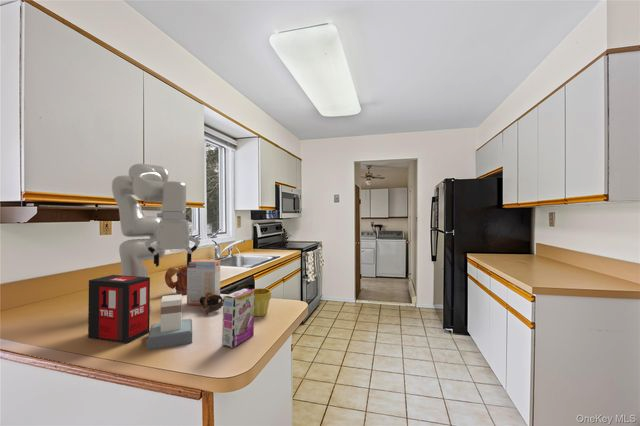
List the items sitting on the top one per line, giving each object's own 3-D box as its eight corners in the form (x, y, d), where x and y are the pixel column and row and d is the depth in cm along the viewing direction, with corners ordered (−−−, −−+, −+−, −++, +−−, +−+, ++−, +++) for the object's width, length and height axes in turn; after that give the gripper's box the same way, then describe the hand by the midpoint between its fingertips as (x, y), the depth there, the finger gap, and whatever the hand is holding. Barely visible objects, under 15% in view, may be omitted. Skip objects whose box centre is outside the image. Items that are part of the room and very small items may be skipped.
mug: (188, 290, 159) (188, 263, 159) (196, 292, 154) (196, 265, 154) (161, 296, 147) (161, 267, 147) (169, 299, 142) (169, 269, 142)
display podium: (146, 350, 89) (147, 337, 89) (151, 334, 101) (151, 323, 101) (192, 342, 95) (192, 330, 95) (191, 328, 106) (191, 317, 106)
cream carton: (160, 332, 93) (160, 301, 93) (162, 324, 100) (162, 296, 100) (181, 329, 96) (181, 299, 96) (181, 321, 102) (181, 294, 102)
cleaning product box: (88, 338, 97) (88, 280, 98) (112, 328, 106) (112, 274, 106) (127, 343, 94) (128, 283, 94) (149, 332, 102) (149, 277, 102)
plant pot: (246, 319, 116) (246, 295, 116) (246, 310, 126) (247, 288, 126) (271, 317, 119) (271, 293, 119) (270, 309, 129) (270, 287, 129)
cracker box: (220, 302, 138) (221, 259, 138) (214, 306, 132) (215, 261, 132) (193, 301, 139) (193, 258, 139) (186, 305, 133) (186, 260, 133)
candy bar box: (234, 349, 90) (234, 297, 91) (221, 346, 92) (222, 295, 92) (254, 335, 101) (255, 289, 101) (243, 333, 103) (243, 287, 103)
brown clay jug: (228, 308, 131) (228, 295, 127) (216, 324, 123) (216, 311, 119) (204, 300, 133) (204, 287, 129) (192, 315, 124) (191, 302, 120)
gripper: (143, 216, 93) (142, 268, 93) (200, 217, 100) (199, 265, 100) (147, 216, 100) (146, 264, 100) (200, 216, 107) (199, 262, 107)
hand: (173, 265), depth 100 cm, fingers open, 9 cm apart
